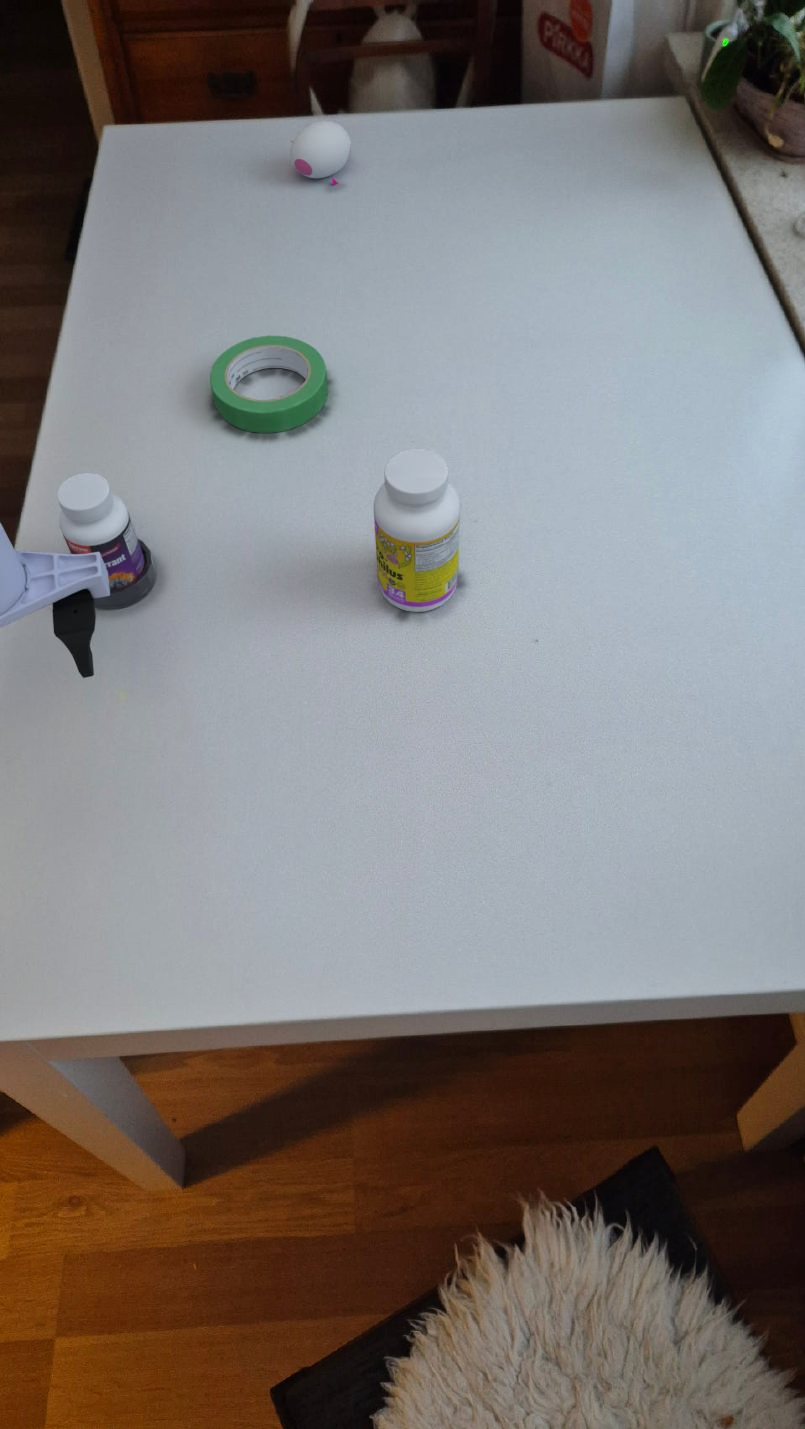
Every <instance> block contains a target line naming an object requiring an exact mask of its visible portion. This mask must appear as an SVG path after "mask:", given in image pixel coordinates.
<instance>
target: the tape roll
mask: <svg viewBox="0 0 805 1429" xmlns="http://www.w3.org/2000/svg"><path fill="white" fill-rule="evenodd" d="M275 368H276V369H285V370H290V371H293V372H295V373H297V374H299V375H300V376H302V378H304V379H305V380H304V381H303V383H302V384H301V385H300V386H299V387H298V388H297V389H296V390H294V391H292V392H291V393H288V394H285V395H282V396H279V397H278V398H273V399H272V398H271V399H255V398H250V397H247V396H245V395H242V394H241V393H239V392H237V390H235V387H236V385H237V384H238V383H239V382H240V381H241V380H242V379H243V378H245V377H246V376H248V375H250V374H252V373H254V372H257V371H260V370H265V369H275ZM327 375H328V374H327V366H326V362H325V360H324V358H323V356H322V355H321V353H320V352H319V351H318V350H317V349H316V348H315V347H314V346H312V345H311V344H309V343H308V342H305V341H303V340H300V339H299V338H295V337H290V336H286V335H285V336H284V335H262V336H257V337H256V336H255V337H252V338H248V339H245V340H242V341H240V342H238V343H235V344H234V345H231V346H230V347H229V348H227V349H226V350H225V351H224V352H222V353H221V354H220V355H219V357H217V359H216V360H215V361H214V364H213V365H212V368H211V370H210V375H209V383H210V389H211V393H212V396H213V401H214V405H215V408H216V411H217V412H218V414H219V415H220V416H221V418H222V419H223V420H224V421H225V422H227V423H228V424H229V425H230V426H233V427H235V428H238V429H239V430H243V431H246V432H251V433H257V434H275V433H283V432H286V431H290V430H293V429H296V428H297V427H300V426H303V425H304V424H306V423H308V422H310V421H311V420H312V419H313V418H315V417H316V416H317V415H318V414H319V413H320V412H321V410H322V409H323V408H324V406H325V404H326V402H327V400H328V396H329V385H328V376H327Z"/></svg>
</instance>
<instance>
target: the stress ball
mask: <svg viewBox="0 0 805 1429" xmlns="http://www.w3.org/2000/svg"><path fill="white" fill-rule="evenodd" d="M290 142H291V145H290V148H289V149H290V150H289V156H290V157H289V158H290V161H291V164H292V166H293V167H294V169H295V170H296V171H297V172H298V173H299V174H300V175H302V176H304V177H307V178H311V179H323V178H324V179H325V178H327V177H330V176H331V179H332V182H331V186H334V185H336V184H339V183H340V182H338V181H337V180H336V179H335V178H334V174H336V173H338V172H339V171H340V170H341V169H342V168H343V167H344V166H345V165H346V164H347V162H348V160H349V157H350V155H351V152H352V142H351V138H350V135H349V134H348V132H347V130H346V129H345V128H344V127H343V126H342V125H340V124H339V123H336V122H334V121H329V120H319V121H315V122H312V123H309V124H307V125H306V126H304V127H302V129H301V130H299V131H298V132H297V134H296V135H295V136H294V138H293V140H290Z"/></svg>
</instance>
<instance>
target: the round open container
mask: <svg viewBox="0 0 805 1429" xmlns="http://www.w3.org/2000/svg"><path fill="white" fill-rule="evenodd" d="M138 541H139V544H140V547H141V550H142V553H143V556H144V559H145V563H146V565H145V568H144V570H143V573H142V574H141V575H140V576H139V577H138V578H137V579H136V580H135V581H134V582H132V583H130V584H128V585H126V586H124V587H122V588H120V589H115V590H110V596H106V597H101V598H94V602H95V608H99V609H102V610H119V609H124V608H127V607H130V606H133V605H135V604H136V603H139V602H140V601H142V599H144V598H145V597H147V595H148V594H149V593H150V592H151V591H152V589H153V587H154V585H155V583H156V579H157V570H156V566H155V561H154V558H153V555H152V552H151V550H150V548H149V547H148V546H147V545H146V543H145V542H144V541H143V540H141V539H140V538H138Z"/></svg>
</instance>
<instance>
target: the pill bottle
mask: <svg viewBox="0 0 805 1429" xmlns="http://www.w3.org/2000/svg"><path fill="white" fill-rule="evenodd" d="M56 499H57V502H58V504H59V508H60V513H59V516H58V524H59V529H60V531H61V534H62V536H63V539H64V541H65V543H66V545H67V547H68V550H69V552H70V554H88V553H94V552H100V554H101V557H102V559H103V562H104V564H105V567H106V569H107V572H108V578H109V587H110V590H115V589H120V588H122V587H124V586H126V585H128V584H130V583H132V582H134V581H135V580H136V579H137V578H138V577H139V576H140V575H141V574H142V573H143V570H144V568H145V565H146V563H145V559H144V556H143V553H142V550H141V547H140V544H139V541H138V539H139V538H138V536H137V533H136V530H135V527H134V524H133V521H132V518H131V515H130V513H129V512H130V511H129V509H128V507H127V505H126V503H125V502H124V501H123V499H121V498H120V497H119V496H118V495H116V494H115V493H113V492H112V490H111V486H110V484H109V482H108V480H106V479H105V478H104V477H103V476H102V475H100V474H97V473H93V472H82V473H77V474H74V475H72V476H70V477H68V478H66V479H65V480H64V481H62V483H60V485H59V486H58V489H57V491H56Z"/></svg>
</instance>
